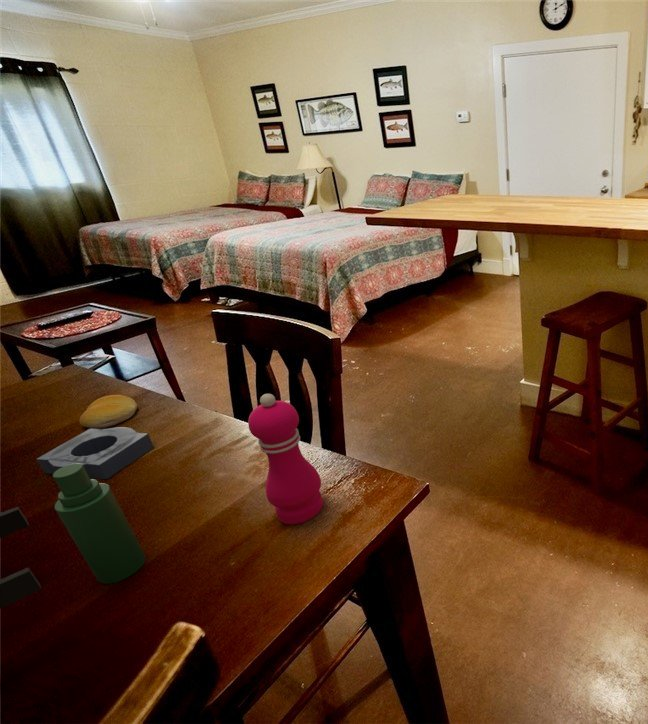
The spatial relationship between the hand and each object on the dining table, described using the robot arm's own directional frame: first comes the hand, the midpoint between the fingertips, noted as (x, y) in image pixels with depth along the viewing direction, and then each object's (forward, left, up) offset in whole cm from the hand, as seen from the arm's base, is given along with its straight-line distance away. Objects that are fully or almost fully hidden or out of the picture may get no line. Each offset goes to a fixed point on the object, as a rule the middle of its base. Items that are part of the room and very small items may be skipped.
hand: (29, 544), depth 54 cm
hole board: (-22, +24, -9) cm, 34 cm away
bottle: (+3, +5, -9) cm, 10 cm away
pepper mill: (+20, +18, -9) cm, 28 cm away
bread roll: (-33, +37, -9) cm, 50 cm away
